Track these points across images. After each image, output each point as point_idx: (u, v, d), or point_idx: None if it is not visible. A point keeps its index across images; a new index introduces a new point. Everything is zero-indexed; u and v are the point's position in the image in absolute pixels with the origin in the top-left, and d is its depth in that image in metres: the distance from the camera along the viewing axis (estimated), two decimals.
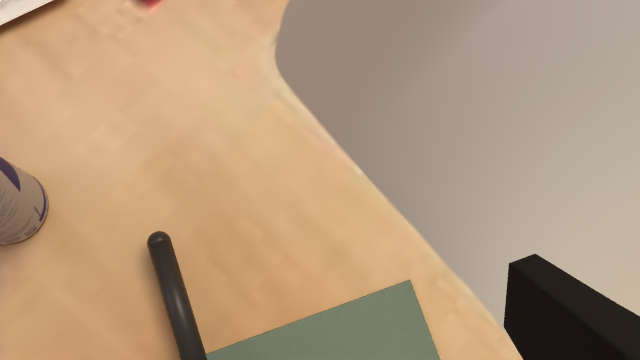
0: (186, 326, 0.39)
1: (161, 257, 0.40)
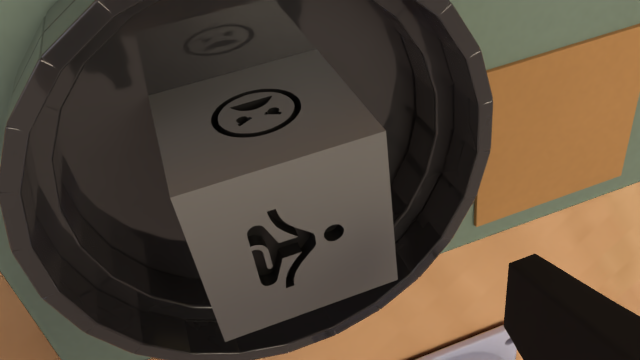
0: None
1: None
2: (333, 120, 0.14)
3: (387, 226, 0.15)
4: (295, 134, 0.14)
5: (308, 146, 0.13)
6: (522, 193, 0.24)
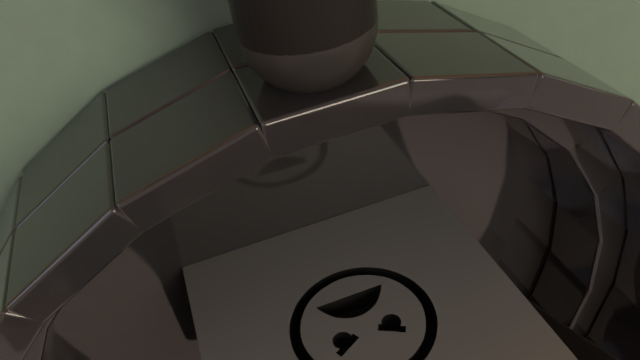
0: None
1: None
2: (502, 357, 0.08)
3: None
4: None
5: None
6: None
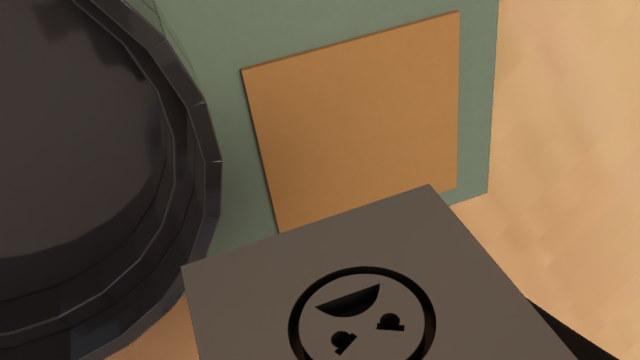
0: None
1: None
2: (501, 356, 0.08)
3: None
4: None
5: None
6: (333, 208, 0.21)
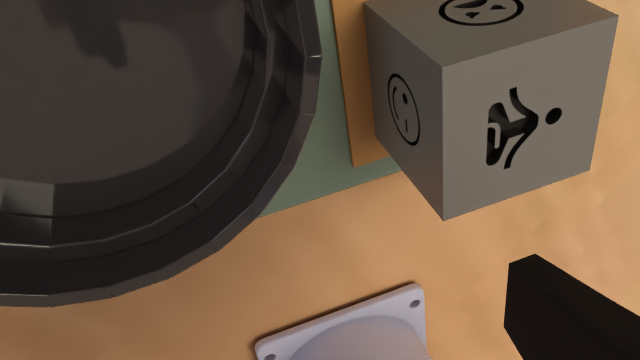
0: None
1: None
2: (561, 10, 0.16)
3: (595, 113, 0.17)
4: (531, 21, 0.15)
5: (550, 28, 0.15)
6: None
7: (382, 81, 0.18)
